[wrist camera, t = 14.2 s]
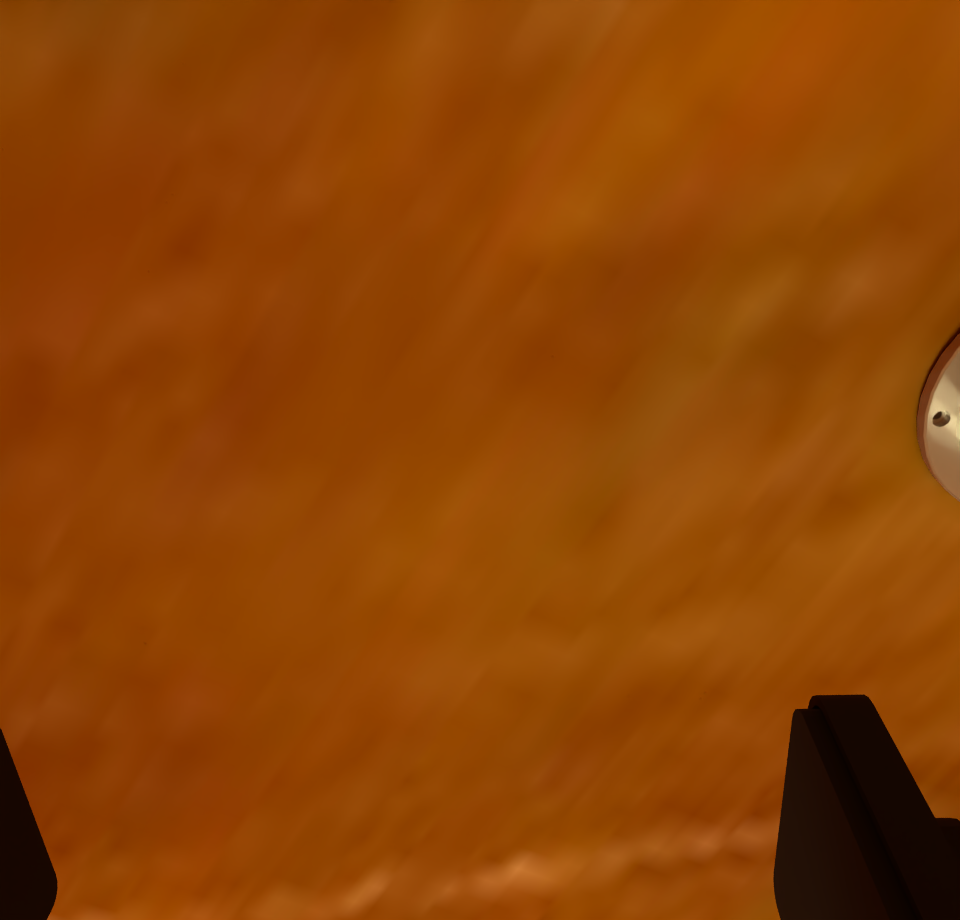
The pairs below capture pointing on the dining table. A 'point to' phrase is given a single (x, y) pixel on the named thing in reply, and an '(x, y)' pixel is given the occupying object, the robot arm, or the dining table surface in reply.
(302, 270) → the dining table surface
